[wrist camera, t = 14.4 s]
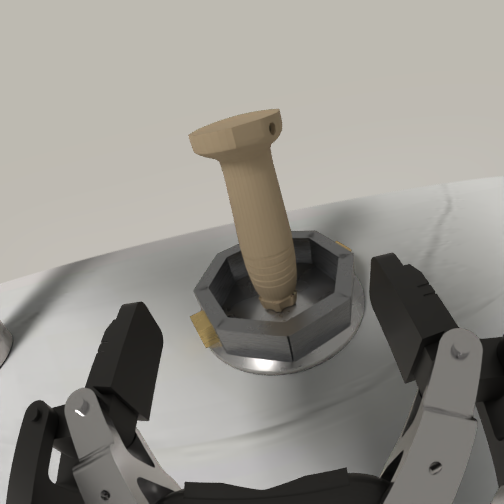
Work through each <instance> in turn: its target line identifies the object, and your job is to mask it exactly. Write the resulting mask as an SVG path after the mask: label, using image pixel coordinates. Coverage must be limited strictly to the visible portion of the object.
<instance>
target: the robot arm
mask: <svg viewBox="0 0 504 504" xmlns="http://www.w3.org/2000/svg"><path fill="white" fill-rule="evenodd" d="M369 293H370V301H371V305H372V308H373V310H374V312H375V314H376V316H377V319H378V321H379V323H380V325H381V327H382V330H383V332H384V334H385V336H386V339H387V341H388V343H389V346H390V348H391V350H392V353H393V355H394V357H395V360H396V362H397V365H398V367H399V370H400V372H401V375H402V377H403V380H404V382H405V383H408V382H411V381H414V380H416V383H417V385H418V389H417V392H416V395H415V398H414V401H413V404H412V406H411V409H410V412H409V415H408V417H407V420H406V422H405V425H404V427H403V430H402V432H401V435H400V437H399V439H398V441H397V443H396V445H395V447H394V449H393V450H392V452H391V454H390V456H389V458H388V460H387V462H386V464H385V466H384V468H383V470H382V472H381V474H380V476H379V477H376V476H373V475H368V474H361V473H348V472H347V467H346V468H342V469H338V470H333V471H328V472H323V473H318V474H313V475H307V476H303V477H301V478H298V479H296V480H293V481H290V482H287V483H285V484H282V485H279V486H276V487H273V488H270V489H266V490H256V489H250V488H244V487H239V486H234V485H229V484H225V483H198V482H185V486H184V489H181V488H180V486H179V485H178V484H177V483H176V482H175V480H174V479H173V478H172V477H170V476H169V475H168V474H167V473H166V472H165V471H164V470H163V469H162V467H161V466H160V464H159V463H158V461H157V460H156V458H155V457H154V455H153V453H152V452H151V450H150V448H149V447H148V445H147V443H146V442H145V440H144V438H143V436H142V435H141V433H140V431H139V430H138V429H137V428H136V424H137V420H138V421H149V418H150V412H151V406H152V400H153V394H154V389H155V383H156V378H157V373H158V368H159V363H160V358H161V353H162V348H163V335H162V332H161V330H160V328H159V326H158V325H157V323H156V321H155V320H154V318H153V317H152V315H151V313H150V312H149V310H148V308H147V307H146V305H145V304H144V303H143V302H136V303H129V304H124V305H122V306H121V308H120V310H119V313H118V315H117V318H116V319H115V320H113V321H112V323H111V324H110V325H109V326H108V328H107V329H106V330H105V333H104V335H103V338H102V341H101V344H100V346H99V349H98V353H97V354H96V357H95V360H94V362H93V365H92V368H91V371H90V374H89V377H88V380H87V383H86V386H85V388H81V389H78V390H76V391H75V392H73V393H72V394H71V395H70V396H69V398H68V399H67V401H66V404H65V405H62V406H58V407H54V408H51V407H50V406H49V405H47V404H46V403H45V402H44V401H41V400H37V401H35V402H33V403H32V404H31V405H30V406H29V407H28V408H27V410H26V412H25V415H24V418H23V422H22V425H21V429H20V433H19V436H18V440H17V444H16V449H15V453H14V458H13V462H12V467H11V473H10V479H9V485H8V492H7V500H6V504H452V503H453V500H454V498H455V496H456V493H457V491H458V488H459V486H460V483H461V480H462V478H463V475H464V472H465V469H466V466H467V463H468V460H469V457H470V454H471V450H472V447H473V443H474V440H475V436H476V432H477V420H476V419H475V418H473V411H474V406H475V404H476V407H477V410H478V413H479V416H480V419H481V422H482V425H483V428H484V431H485V434H486V437H487V441H488V444H489V448H490V451H491V455H492V459H493V463H494V467H495V471H496V476H497V481H498V486H499V489H498V491H497V492H496V494H495V496H494V498H493V500H492V501H491V503H490V504H504V335H503V337H497V338H486V339H479V338H478V337H477V336H476V335H475V334H474V333H473V332H471V331H469V330H467V329H462V328H459V327H458V326H457V324H456V323H455V321H454V320H453V318H452V316H451V315H450V313H449V312H448V310H447V309H446V307H445V306H444V304H443V303H442V301H441V300H440V298H439V297H438V295H437V294H435V291H434V289H433V288H432V286H431V285H429V282H428V281H427V279H426V278H425V277H424V275H423V274H422V272H420V271H419V270H417V269H416V268H414V267H413V266H411V265H410V264H408V265H404V266H403V265H402V263H401V262H400V260H399V259H398V258H397V256H396V255H395V254H394V253H389V254H385V255H380V256H376V257H373V258H372V259H371V272H370V290H369ZM12 341H13V339H12V335H11V333H10V332H9V331H8V330H7V328H6V327H5V326H4V325H3V323H2V322H1V321H0V366H1V365H2V363H3V362H4V361H5V359H6V357H7V355H8V353H9V351H10V349H11V346H12ZM52 447H53V448H55V449H57V450H58V451H60V452H61V457H60V463H59V469H58V476H57V481H56V483H55V484H54V483H53V482H51V480H50V479H49V476H48V469H49V463H50V458H51V452H52Z"/></svg>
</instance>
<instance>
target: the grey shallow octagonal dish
mask: <svg viewBox="0 0 504 504" xmlns="http://www.w3.org/2000/svg"><path fill="white" fill-rule="evenodd" d="M291 233H292V239H293V244H294V250H295V257H296V268H297V283H296V287H295V290H296V291H297V301H296V303H295V304H294V305H293V306H288V307H286V308H285V309H283V310H282V311H281V312H276V311H275V310H272V309H265V308H264V307H263V306H262V304H261V303H260V300H259V297H260V295H259V294H258V293H257V291H256V290H255V288H254V286H253V284H252V281H251V279H250V277H249V274H248V271H247V269H246V266H245V263H244V260H243V257H242V253H241V250H240V245H239V244H237V245H235V246H233V247H231V248H229V249H227V250H225V251H222V252H220V253H218V254H217V255H216V257H215V258H214V260H213V261H212V263H211V264H210V266H209V267H208V269H207V270H206V272H205V273H204V275H203V277H202V278H201V280H200V281H199V283H198V284H197V286H196V287H195V289H194V293H195V296H196V298H197V300H198V302H199V304H200V306H201V311H200V312H198V313H196V314H194V315H192V316H190V318H191V320H192V322H193V324H194V326H195V328H196V330H197V332H198V334H199V336H200V338H201V340H202V341H203V343H204V345H205V347H206V348H208V347H209V348H210V349H211V351H212V352H213V353H214V354H215V355H216V356H217V357H218V358H219V359H221V360H222V361H223V362H225V363H226V364H228V365H230V366H232V367H233V368H236V369H239V370H241V371H244V372H248V373H253V374H258V375H285V374H291V373H297V372H300V371H303V370H307V369H310V368H312V367H314V366H317V365H319V364H321V363H323V362H325V361H326V360H328V359H330V358H331V357H333V356H334V355H335V354H337V353H338V352H339V351H341V350H342V349H343V348H344V347H345V346H346V345H347V344H348V343H349V342H350V340H351V339H352V338H353V336H354V335H355V333H356V332H357V330H358V328H359V326H360V324H361V320H362V317H363V312H364V292H363V288H362V285H361V283H360V281H359V279H358V278H357V276H356V275H355V273H354V259H353V253H352V252H351V249H350V248H348V247H346V246H345V245H343V244H341V243H340V242H338V241H336V242H334V241H332V240H331V239H329V238H327V237H326V236H324V235H322V234H321V233H319V232H317V231H291Z"/></svg>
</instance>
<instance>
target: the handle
mask: <svg viewBox="0 0 504 504" xmlns="http://www.w3.org/2000/svg"><path fill="white" fill-rule="evenodd" d="M281 131H282V120H281V115H280V111H279V109H269V110H261V111H255V112H250V113H245V114H241V115H237V116H233V117H230V118H227V119H224V120H221V121H217V122H215V123H212V124H210V125H207V126H204V127H202V128H200V129H198V130H196V131H194V132H192V133H191V134H189V139H190V142H191V145H192V148H193V151H194V152H195V153H196V154H198V155H200V156H203V157H207V158H212V159H216V160H218V161H219V162H220V165H221V167H222V171H223V174H224V178H225V182H226V186H227V191H228V195H229V200H230V204H231V208H232V213H233V217H234V222H235V227H236V231H237V236H238V241H239V245H240V250H241V253H242V257H243V260H244V263H245V266H246V269H247V271H248V274H249V277H250V279H251V281H252V284H253V286H254V288H255V290H256V291H257V293H258V294H259V295H260V297H259V300H260V303H261V304H262V306H263V307H264V308H265V309H272V310H275V311H276V312H281V311H282V310H283V309H285V308H286V307H288V306H293V305H294V304H295V303H296V301H297V291H296V290H295V287H296V283H297V268H296V257H295V250H294V244H293V239H292V233H291V229H290V226H289V222H288V218H287V214H286V210H285V206H284V203H283V199H282V195H281V191H280V187H279V183H278V180H277V176H276V172H275V168H274V165H273V160H272V155H271V150H270V147H271V144H272V143H273V142H274V141H275V140H276V139H277V138H278V137H279V135H280V133H281Z"/></svg>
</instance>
